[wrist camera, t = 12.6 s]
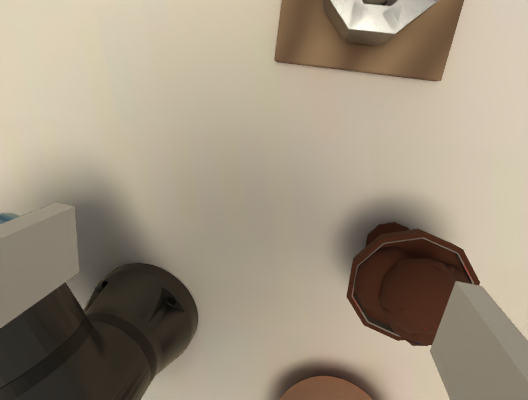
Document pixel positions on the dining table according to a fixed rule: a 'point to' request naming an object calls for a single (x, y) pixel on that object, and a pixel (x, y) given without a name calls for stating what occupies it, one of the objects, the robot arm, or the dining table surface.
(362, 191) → the dining table surface
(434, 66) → the shaft stand
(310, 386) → the toy
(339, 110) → the dining table surface
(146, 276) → the robot arm
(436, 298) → the ice cream bowl
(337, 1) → the ring
